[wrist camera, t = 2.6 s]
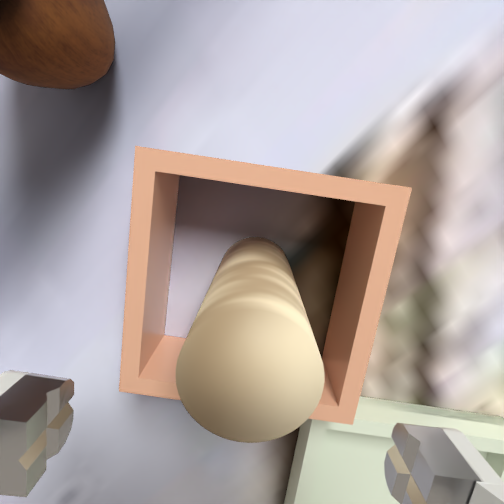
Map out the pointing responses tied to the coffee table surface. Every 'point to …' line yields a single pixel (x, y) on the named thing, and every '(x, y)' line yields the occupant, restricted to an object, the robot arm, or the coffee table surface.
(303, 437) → the sage tray
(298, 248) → the coffee table surface
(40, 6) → the wooden figurine
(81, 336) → the coffee table surface
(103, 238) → the coffee table surface
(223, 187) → the coffee table surface
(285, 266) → the beech peg
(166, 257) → the frame
